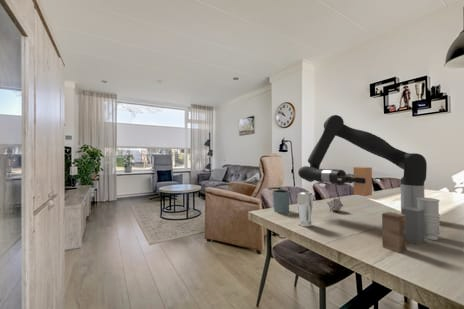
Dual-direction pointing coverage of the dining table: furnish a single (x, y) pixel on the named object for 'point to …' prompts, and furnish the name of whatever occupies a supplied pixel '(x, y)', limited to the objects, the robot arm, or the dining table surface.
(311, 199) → the beer glass
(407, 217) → the grey block
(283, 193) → the grey-green cup
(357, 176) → the orange block
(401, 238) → the walnut block
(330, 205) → the game die
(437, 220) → the grey ribbed canister
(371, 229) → the dining table surface
